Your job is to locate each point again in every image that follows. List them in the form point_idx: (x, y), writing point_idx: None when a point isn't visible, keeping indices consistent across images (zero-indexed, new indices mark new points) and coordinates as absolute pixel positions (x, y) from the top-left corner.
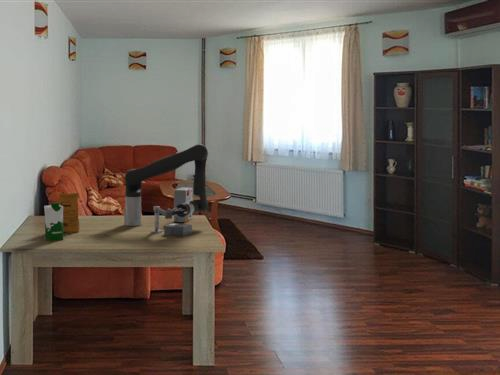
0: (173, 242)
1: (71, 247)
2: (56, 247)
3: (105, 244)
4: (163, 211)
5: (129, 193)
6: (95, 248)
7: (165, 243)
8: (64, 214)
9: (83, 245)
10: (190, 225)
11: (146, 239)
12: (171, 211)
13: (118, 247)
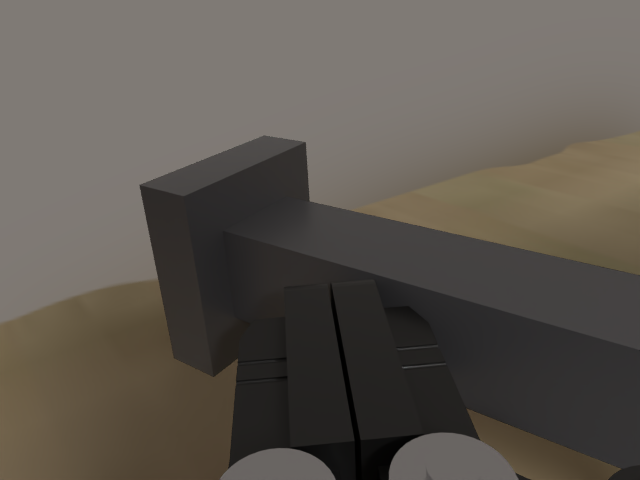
0: (108, 463)
1: (592, 150)
2: (636, 135)
3: (548, 214)
4: (537, 256)
5: None
6: (486, 171)
7: (178, 392)
8: None
9: (605, 174)
10: None
11: (494, 421)
12: (156, 184)
13: (410, 210)
